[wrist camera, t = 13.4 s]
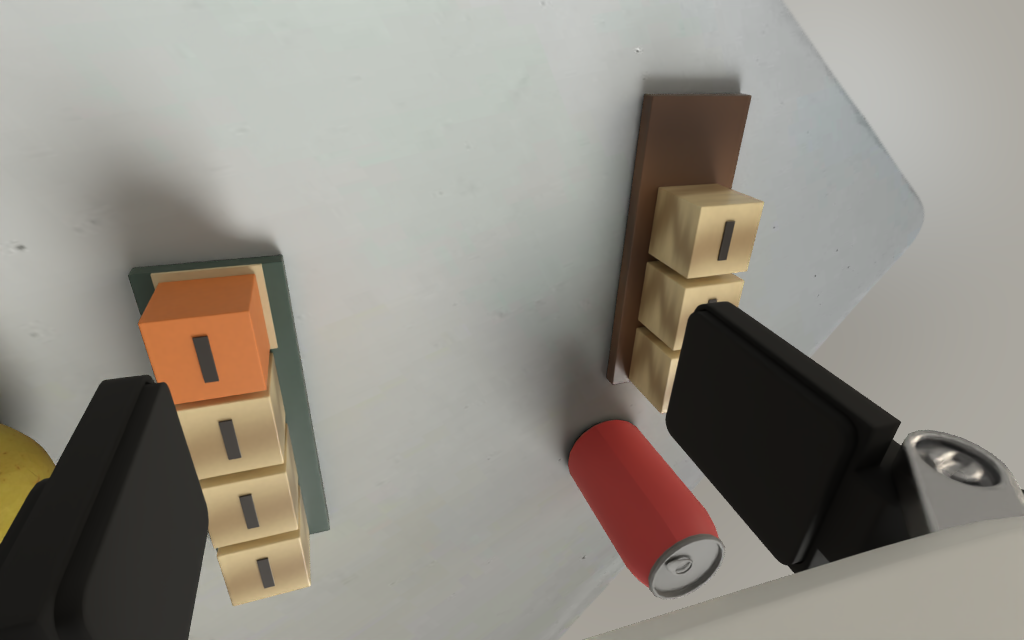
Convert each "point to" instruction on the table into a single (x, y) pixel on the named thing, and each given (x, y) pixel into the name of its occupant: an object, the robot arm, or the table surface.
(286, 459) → the slotted cube rack
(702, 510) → the beer can
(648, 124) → the slotted cubes on board
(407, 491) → the table surface
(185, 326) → the orange slotted cube
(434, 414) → the table surface
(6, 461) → the fruit
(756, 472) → the robot arm
